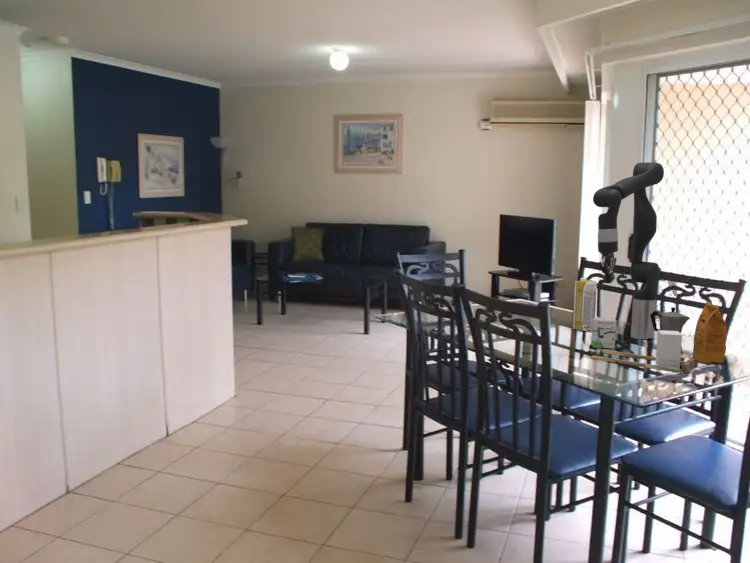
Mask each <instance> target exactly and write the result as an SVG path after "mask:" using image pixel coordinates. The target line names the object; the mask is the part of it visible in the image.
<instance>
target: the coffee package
mask: <svg viewBox="0 0 750 563" xmlns="http://www.w3.org/2000/svg"><path fill="white" fill-rule="evenodd" d="M720 311H723V308H722V307H721V306H719V305H714V304H712V303H711V302H710V301H706V302H705V305H704V307H703V309H702V311H701V312H700V314H699V316H698V319H697V322H696V326H695V331H694V335H693V348H692V349H693V350H692V357H693V358H696V361H697V362H698V363H701V364H720V363H724V362H725V356H726V351H727V345H726V344H727V330H728V326H727V323H726V321H725V319H724V317H723V316H722V315H721V312H720ZM696 361H695V362H696Z"/></svg>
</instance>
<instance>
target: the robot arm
mask: <svg viewBox="0 0 750 563" xmlns="http://www.w3.org/2000/svg"><path fill="white" fill-rule="evenodd" d="M664 176H665V170H664V167H663V165H662V164H661V163H659V162H651V161H650V162H637V163H636V164H635V165H634V167H633V170H632V176H629V177H625V178H623V179H621V180H619V181H617V182H615V183H614V184H612V185H611V184H610V185H608V186H605V187H601V188H599V189H597V190H596V191H595V192H594V194H593V197H592V201H593V204H594V205H595V206H596V207H599V208H607V210H606V212H605V213H600V214H599V215H598V219H597V223H598V226H597V227H598V230H597V251H598V253H601V261H599V262H598V263H599V266H600V269H601V273H602V274H604V283H605V284H611V283H612V281H613V280H612V277H613V276H612V274H613V272H614V271H615V267H616V263H617V257H615V253H616V252H618V251H619V239H618V238H619V233H618V232H619V231H618V215H619V210H620V207H621V205H622V200H624V199H625V198H628V197H629V196H631V195H632V194H633V219H632V220H633V221H632V223H633V225H632V226H633V227H632V229H633V230H632V231H633V232H632V234H633V239H632V240H633V242H632V255H631V265H630V278H631V279H630V280H631V281H632V282H634V283H639V284H646V286H645V288H643V289H639V290H635V291H634V292H633V296H632V297H633V298H632V315H631V329H630V330H631V331H630V337H631V339H636V340H641V339H648V338H652V337H654V336H655V335H654V334H655V331H654V328H653V324H652V321H651V317H650V315H651V313H653V312H654V311H656V308H657V307H656V306H657V305H656V304H657V294H658V290H659V287H658V286H659V280H660V266H659V263H657V262H653V261H652V262H651V261H643V257H644V252H645V250H646V248H647V246H648V245H650V243H651V241H652V240H653V238H654V237H655V235H656V233H657V223H658V222H657V219H658V218H657V213H656V211H655V208H654V207H653V204H652V203H651V202H650V201H649V198H648V196H647V190H646V188H648V187H651V186H654V185H658V184H660V183H661V182H662V180H663V179H664Z"/></svg>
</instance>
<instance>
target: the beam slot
mask: <svg viewBox="0 0 750 563" xmlns="http://www.w3.org/2000/svg"><path fill="white" fill-rule="evenodd" d="M601 350H602V351H601V353H602V354H603V353H604V354H609V355H610V354H611V355H614V356H615V355H617V356H622V357H629V358H635V359H641V360H642V359H643V360H648V361H655V362H656V356H652V355H651V356H648V355H645V354H636V353H632V352H631V353H630V352H624V351H616V350H611V349H606V348H602V349H601ZM590 358H591V360H597V361H598V360H599V361H604V362H609V361H610V363H616V362H618V363H617V364H623V365H629V366H634V367H641V368H648V369H654V370H660V371H665V372H666V371H667V372H673V373H678V372H679V374H680V373H681V374H685V375H687V374H688V373H689V372H690V371H692V369H693V368H695V366H696V358H694V357H693V356H692V357H690V358H689V359H687V360H686V361H684V360H680V366H681V368H679V369H677V368H670V367H664V366H658V365H657V364H650V363H644V362H638V361H632V360H625V359H619V358H612V357H606V356H599V355H594V354H593V355H591V357H590Z"/></svg>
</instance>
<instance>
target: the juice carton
mask: <svg viewBox="0 0 750 563" xmlns="http://www.w3.org/2000/svg"><path fill="white" fill-rule="evenodd" d="M579 279H580V280H575V281H574V282H575V283H574V295H573V296H574V297H573V298H574V299H573V317H572V319H573V320H572V329H573V330H574V329H578V330H583V331H586V332H588V331H587V330H590V331H592V330H591V329H592V323H593V318H594V317H596V314H597V311H596V310H597V308H596V307H597V290H598V288H597V287H598V281H597V280H592V279H587V278H586V277H581V278H579ZM578 330H577V331H578ZM583 331H582V332H583Z"/></svg>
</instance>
